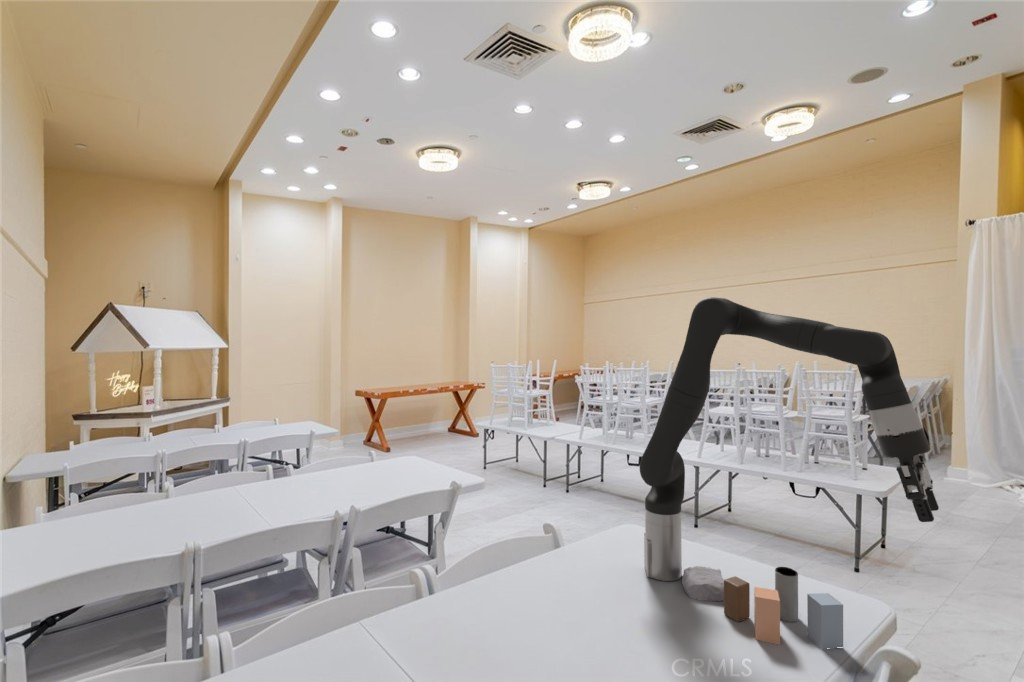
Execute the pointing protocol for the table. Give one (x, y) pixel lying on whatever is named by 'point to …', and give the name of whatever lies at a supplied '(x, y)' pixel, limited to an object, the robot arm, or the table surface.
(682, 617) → the table surface
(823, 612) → the slate-blue block
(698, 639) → the table surface
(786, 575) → the planter
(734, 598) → the wooden block
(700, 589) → the stone block
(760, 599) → the terracotta block
